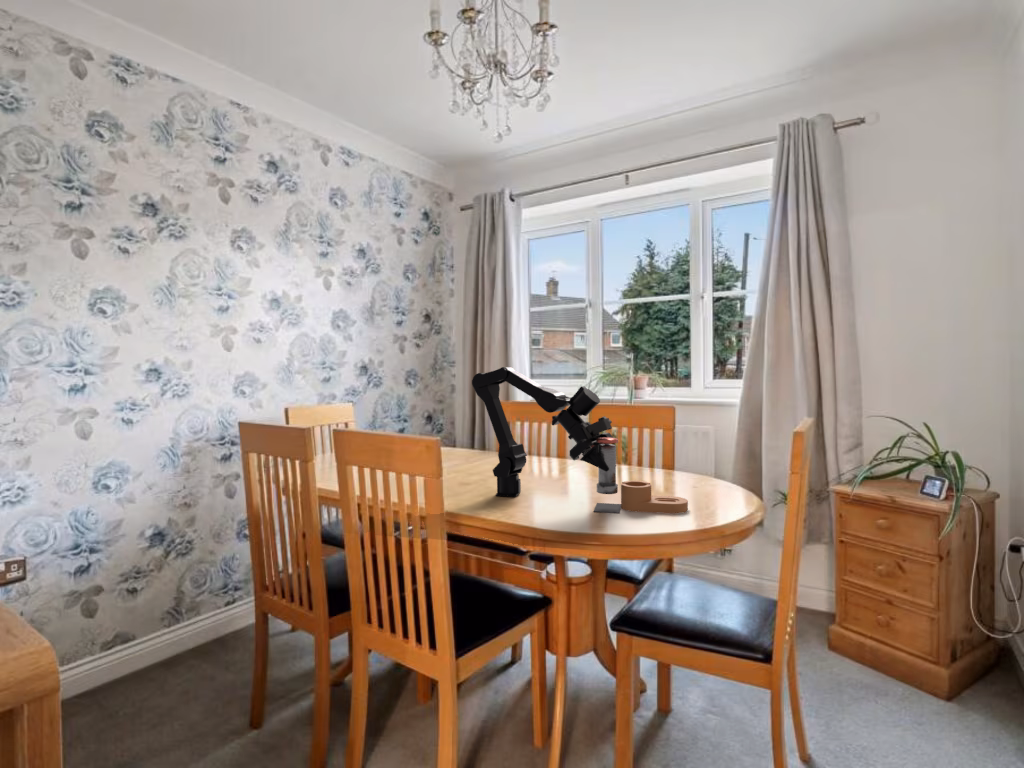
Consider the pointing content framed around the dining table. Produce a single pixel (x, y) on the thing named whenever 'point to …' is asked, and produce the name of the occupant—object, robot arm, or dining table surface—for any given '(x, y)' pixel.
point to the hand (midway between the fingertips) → (611, 468)
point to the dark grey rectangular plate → (607, 508)
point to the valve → (609, 456)
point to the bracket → (649, 499)
